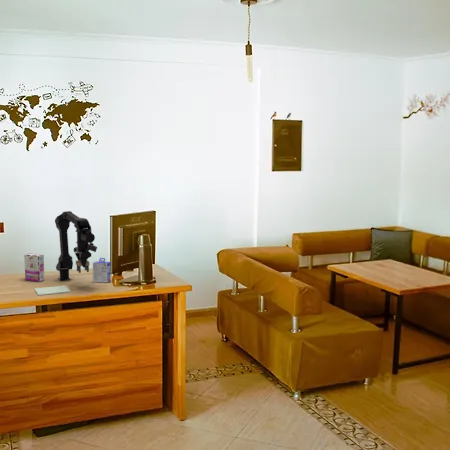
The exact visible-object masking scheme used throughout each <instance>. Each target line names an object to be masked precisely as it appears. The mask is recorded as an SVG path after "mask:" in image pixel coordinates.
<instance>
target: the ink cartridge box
mask: <svg viewBox="0 0 450 450" xmlns="http://www.w3.org/2000/svg"><path fill="white" fill-rule="evenodd" d="M111 264H112V263H111V261H106V257H99V259H98V261H94V262H93V263H92V282H94V283H109V282H111V281H112V275H111V267H112V266H111Z"/></svg>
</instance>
